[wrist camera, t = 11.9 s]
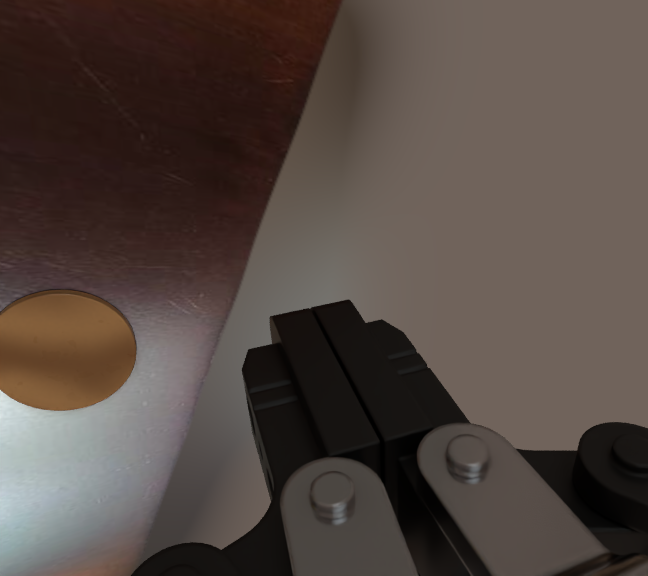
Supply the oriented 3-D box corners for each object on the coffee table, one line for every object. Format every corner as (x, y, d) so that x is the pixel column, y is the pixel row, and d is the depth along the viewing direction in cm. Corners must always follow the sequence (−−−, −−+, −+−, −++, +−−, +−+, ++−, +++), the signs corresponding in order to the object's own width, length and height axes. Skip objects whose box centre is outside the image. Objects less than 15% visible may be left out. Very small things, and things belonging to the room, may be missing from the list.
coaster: (-40, 307, 35) (-42, 312, 34) (116, 275, 37) (116, 279, 36) (13, 419, 39) (12, 425, 39) (149, 386, 41) (150, 391, 41)
